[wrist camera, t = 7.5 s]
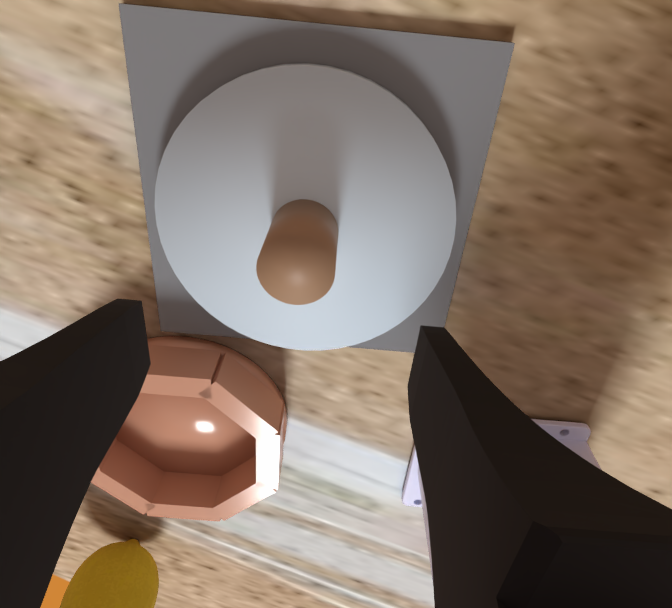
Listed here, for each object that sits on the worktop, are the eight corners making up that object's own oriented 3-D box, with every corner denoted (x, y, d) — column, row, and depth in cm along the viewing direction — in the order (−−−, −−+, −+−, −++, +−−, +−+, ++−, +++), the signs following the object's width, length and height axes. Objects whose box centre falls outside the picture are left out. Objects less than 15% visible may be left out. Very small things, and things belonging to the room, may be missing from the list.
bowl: (290, 345, 25) (283, 383, 22) (284, 483, 31) (278, 526, 28) (76, 327, 25) (44, 364, 22) (110, 470, 30) (88, 512, 28)
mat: (511, 42, 17) (514, 43, 17) (436, 349, 25) (437, 354, 25) (123, 3, 17) (118, 3, 17) (163, 326, 25) (160, 331, 24)
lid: (493, 96, 18) (530, 121, 14) (411, 355, 24) (421, 420, 21) (158, 33, 17) (102, 42, 13) (166, 317, 24) (129, 377, 20)
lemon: (78, 531, 34) (10, 662, 27) (135, 506, 32) (78, 640, 26) (134, 569, 36) (84, 699, 30) (189, 548, 35) (150, 680, 28)
